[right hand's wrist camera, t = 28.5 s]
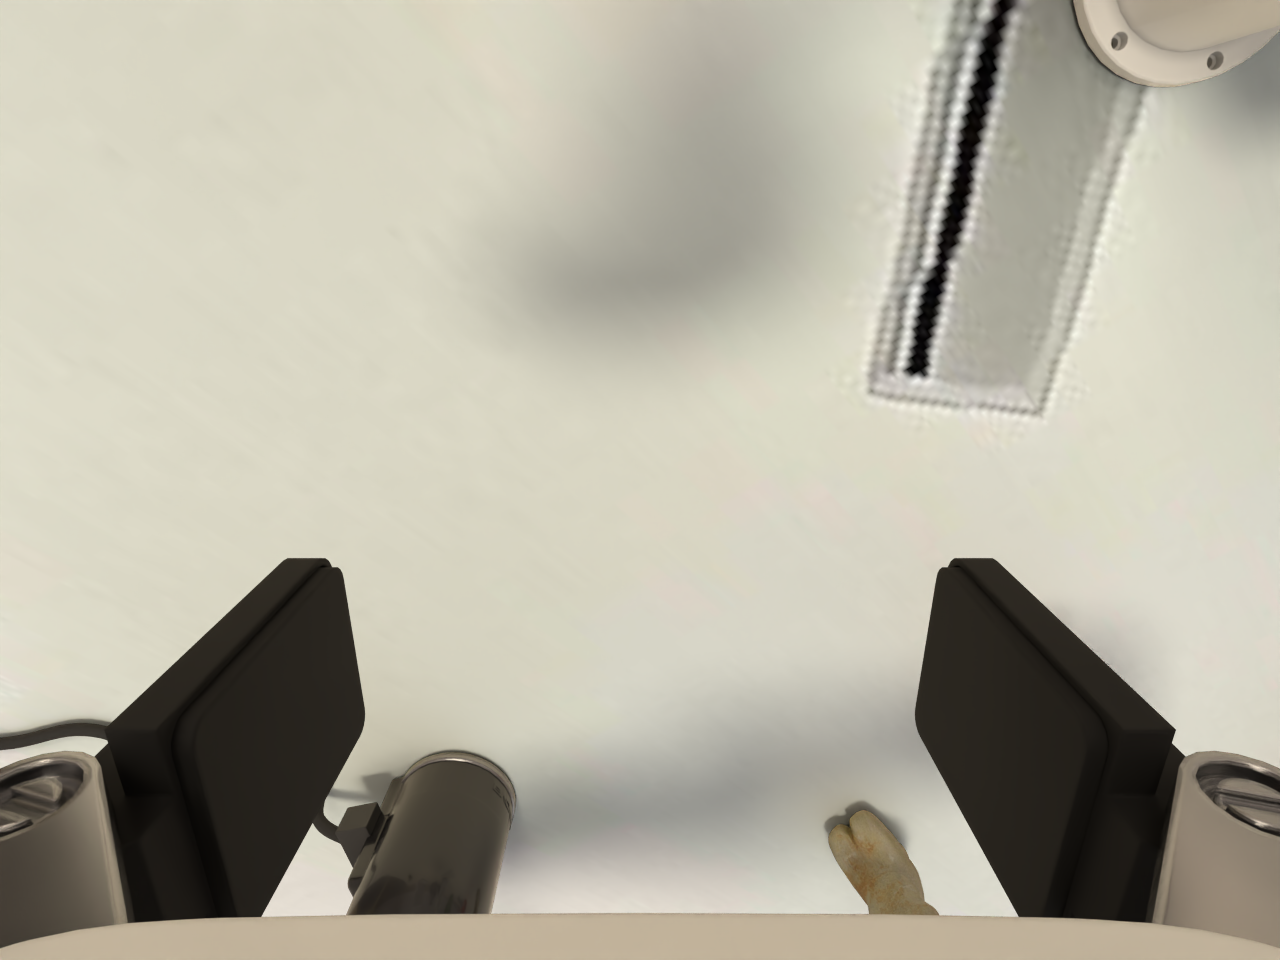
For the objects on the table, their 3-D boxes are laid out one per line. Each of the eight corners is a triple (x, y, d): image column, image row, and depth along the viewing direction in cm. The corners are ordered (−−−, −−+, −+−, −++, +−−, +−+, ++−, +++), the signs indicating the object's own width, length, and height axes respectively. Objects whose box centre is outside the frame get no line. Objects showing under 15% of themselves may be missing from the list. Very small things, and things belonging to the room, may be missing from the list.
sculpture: (871, 792, 57) (947, 980, 43) (920, 844, 59) (1008, 1040, 45) (812, 828, 58) (868, 1022, 44) (862, 878, 60) (930, 1079, 46)
